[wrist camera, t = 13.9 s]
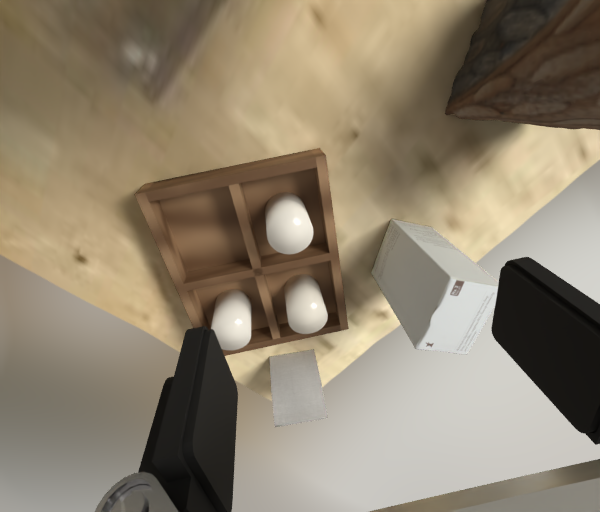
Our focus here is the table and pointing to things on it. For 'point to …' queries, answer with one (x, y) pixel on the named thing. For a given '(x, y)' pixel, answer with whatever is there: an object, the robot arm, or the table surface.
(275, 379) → the milk carton
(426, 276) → the skincare box
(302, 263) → the rack
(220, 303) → the egg
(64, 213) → the table surface
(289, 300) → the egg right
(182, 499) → the robot arm
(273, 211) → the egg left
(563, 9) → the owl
